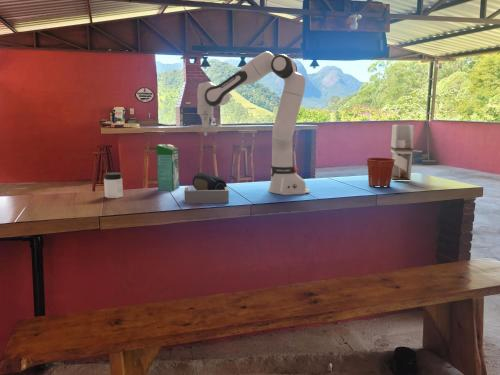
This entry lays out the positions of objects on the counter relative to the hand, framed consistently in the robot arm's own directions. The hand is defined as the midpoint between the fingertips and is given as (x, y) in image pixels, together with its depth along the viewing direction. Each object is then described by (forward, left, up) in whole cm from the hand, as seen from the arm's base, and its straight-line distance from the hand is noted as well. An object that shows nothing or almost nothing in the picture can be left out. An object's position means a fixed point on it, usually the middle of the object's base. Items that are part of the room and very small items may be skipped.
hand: (205, 135), depth 244 cm
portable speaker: (-1, +21, -29) cm, 36 cm away
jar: (+47, +27, -29) cm, 62 cm away
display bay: (0, +40, -29) cm, 49 cm away
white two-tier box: (-123, -11, -29) cm, 127 cm away
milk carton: (+21, +8, -29) cm, 37 cm away
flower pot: (-102, +7, -29) cm, 106 cm away
